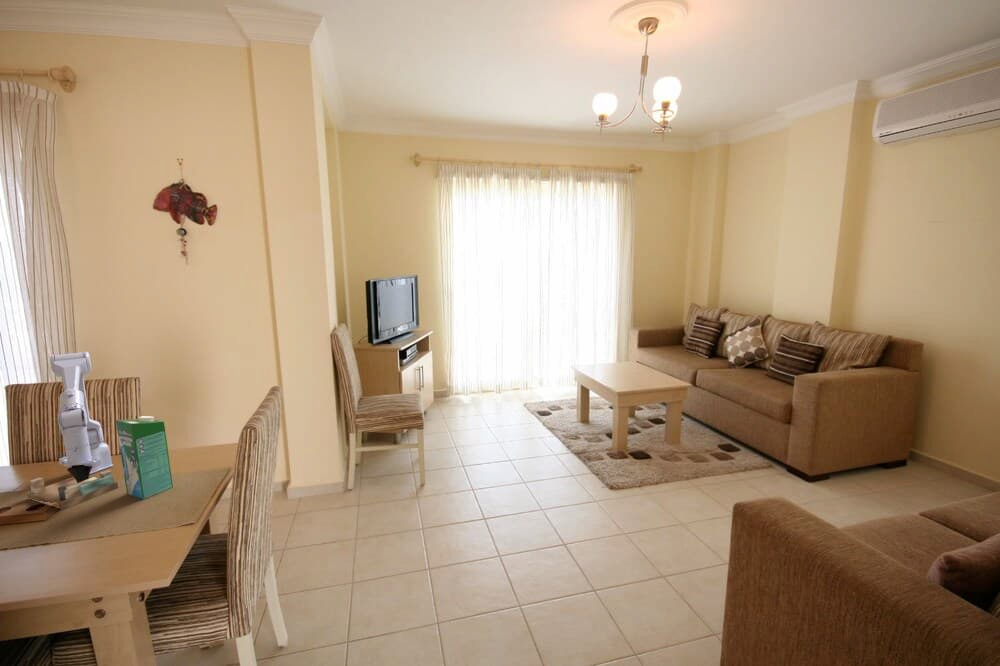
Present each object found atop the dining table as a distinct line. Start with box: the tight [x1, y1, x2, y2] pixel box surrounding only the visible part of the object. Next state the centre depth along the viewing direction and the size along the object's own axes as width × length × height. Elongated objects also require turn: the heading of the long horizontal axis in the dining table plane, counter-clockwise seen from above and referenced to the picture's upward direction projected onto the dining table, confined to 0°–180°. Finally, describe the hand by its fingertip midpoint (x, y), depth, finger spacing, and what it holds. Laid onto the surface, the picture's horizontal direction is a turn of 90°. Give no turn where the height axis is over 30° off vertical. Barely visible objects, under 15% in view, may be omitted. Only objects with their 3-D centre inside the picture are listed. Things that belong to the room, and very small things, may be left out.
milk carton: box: [115, 415, 174, 500], centre depth 149 cm, size 9×9×25 cm
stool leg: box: [58, 476, 99, 500], centre depth 145 cm, size 10×2×4 cm, turn 160°
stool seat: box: [26, 469, 119, 511], centre depth 149 cm, size 15×19×6 cm
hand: (83, 486), depth 148 cm, fingers closed
